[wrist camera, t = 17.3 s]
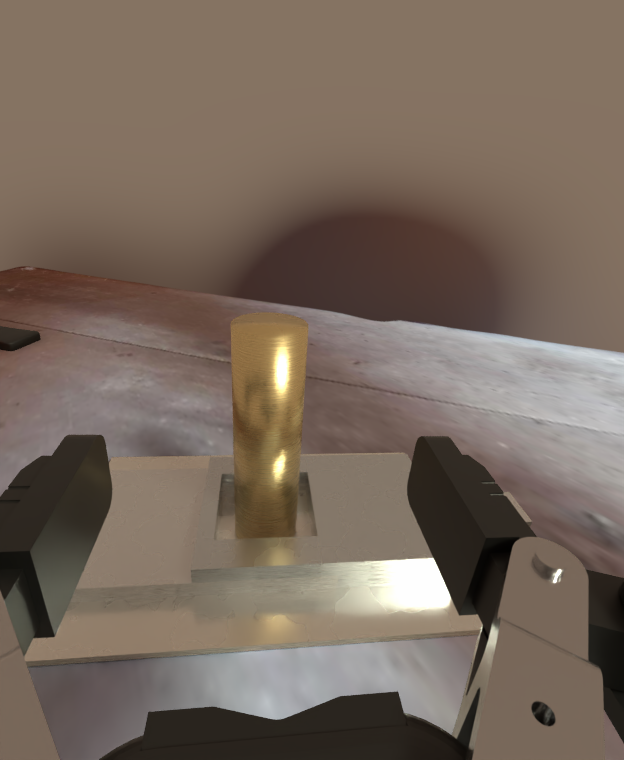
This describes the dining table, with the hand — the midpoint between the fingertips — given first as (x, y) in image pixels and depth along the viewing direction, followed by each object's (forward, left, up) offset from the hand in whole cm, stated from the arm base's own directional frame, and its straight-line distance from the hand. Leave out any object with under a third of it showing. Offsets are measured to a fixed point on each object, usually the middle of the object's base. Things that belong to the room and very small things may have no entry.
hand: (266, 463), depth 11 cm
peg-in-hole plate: (-6, +11, -15) cm, 19 cm away
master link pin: (-6, +11, -14) cm, 19 cm away
